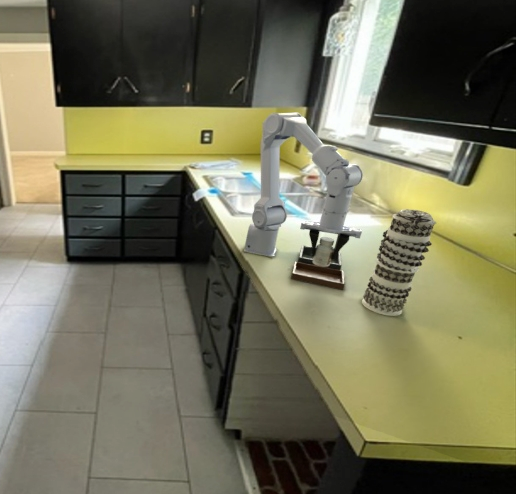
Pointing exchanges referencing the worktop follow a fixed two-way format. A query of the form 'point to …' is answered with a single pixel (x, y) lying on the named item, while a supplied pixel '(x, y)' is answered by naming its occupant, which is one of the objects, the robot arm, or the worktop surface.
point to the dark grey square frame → (308, 251)
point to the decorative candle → (398, 261)
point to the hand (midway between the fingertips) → (322, 256)
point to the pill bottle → (323, 252)
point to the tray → (318, 275)
